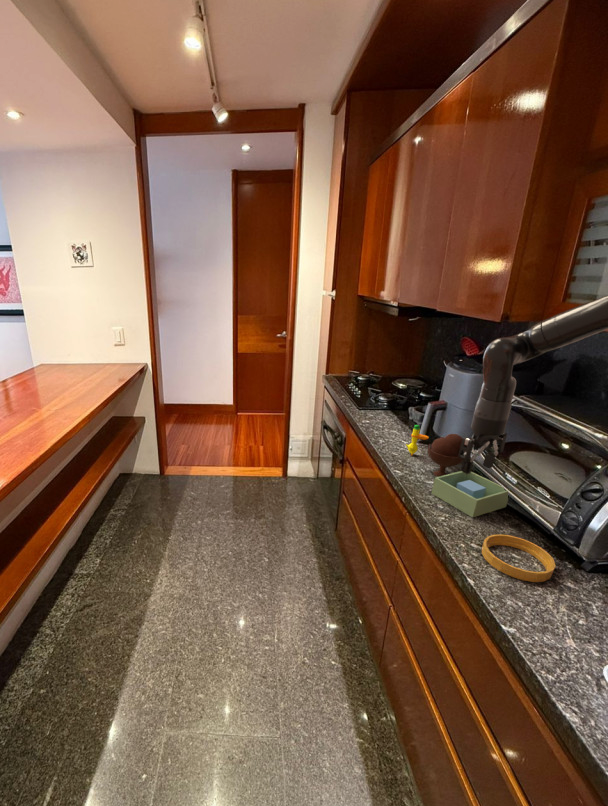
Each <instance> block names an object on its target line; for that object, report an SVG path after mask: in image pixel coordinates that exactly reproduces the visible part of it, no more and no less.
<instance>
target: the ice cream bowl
mask: <svg viewBox="0 0 608 806" xmlns="http://www.w3.org/2000/svg"><path fill="white" fill-rule="evenodd" d="M463 438H464V437H462V436H461V435H460V434H457V433H450V434H447V435H445V437H444V436H441V437H439V438H436V439H434V440H433V441H432V443H429V444H428V446H427V455H428V458H430V460H432V461H433V462H434V463H435V464H436V465H438V466H439V470H434V471H433V474H432V475H434V476H435V477H440V476H444V475H448V474H449V473H447V471H446V469H447V468H449V467H454V466H458V465H460V464H463V459H461V458H459V457H458V454H459V451H460V447H461V444H462V440H463ZM464 453H465V451H464ZM464 453H463V454H464Z"/></svg>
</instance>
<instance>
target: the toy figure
mask: <svg viewBox="0 0 608 806" xmlns="http://www.w3.org/2000/svg"><path fill="white" fill-rule="evenodd" d="M413 425H414V427H413V429H412V433H411V434H410V437H411V442H410V443H409V444H407V443H405V446H406V448H407V450H408V453H409V454H410V456H413V455H414V454H416V452H418V450H419V446H418V444H417V443H418V440H424V441H426V440H428V439H429V436H428V435H426V434H422V433H420V432H421V428H420V425H419V424H413Z"/></svg>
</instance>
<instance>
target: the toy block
mask: <svg viewBox="0 0 608 806" xmlns="http://www.w3.org/2000/svg"><path fill="white" fill-rule="evenodd" d="M456 488H457V489H459V490H461V491H463V492H465V493H467V494H468V495H470V496H472V497H474V498H476V499H479V498H482V497H484V493H485V490H486V488H485V487H483V486H481V485H479V484H477V483H475V482H473V481H471V480H467V481H463V482H460V483H457V486H456Z"/></svg>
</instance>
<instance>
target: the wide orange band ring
mask: <svg viewBox="0 0 608 806" xmlns="http://www.w3.org/2000/svg"><path fill="white" fill-rule="evenodd" d="M494 546H507V547H512V548H515V549H518V550H520V551H523V552H526V553H527V554H529V555H531V556H533V557H534V558H536V560H538V561H539V562H540V563H541V564H542V565H543V567H544V569H545V571H533V570H526V569H523V568H519V567H516V566H514V565H511V564H509V563H507V562H504V561H503V560H502V559H500V558H498V557H497V556H496V555H494V553H492V552H491V550H490V548H491V547H494ZM481 554H482V556H483V558H484V559H485V561H486V562H487V563H488V564H489V565H491V566H492V567H493V568H495V569H496V570H497V571H498V572H501V573H503V574H505V575H507V576H509V577H511V578H514V579H517V580H521V581H525V582H532V583H542V582H546V581H548V580H550V579H551V577H552V576H553V574H554V572H555V569H556V565H557V564H556V561H555V559H554V558H553V557H552V556H551V554H550V553H549V552H547V550H545V549H544V548H542V547H541V546H539V545H537V544H535V543H534V542H531V541H529V540H527V539H524V538H521V537H518V536H514V535H509V534H503V533H502V534H501V533H500V534H498V533H497V534H492V535H488V536H486V537H485V538H484V540H483V543H482V546H481Z"/></svg>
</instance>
